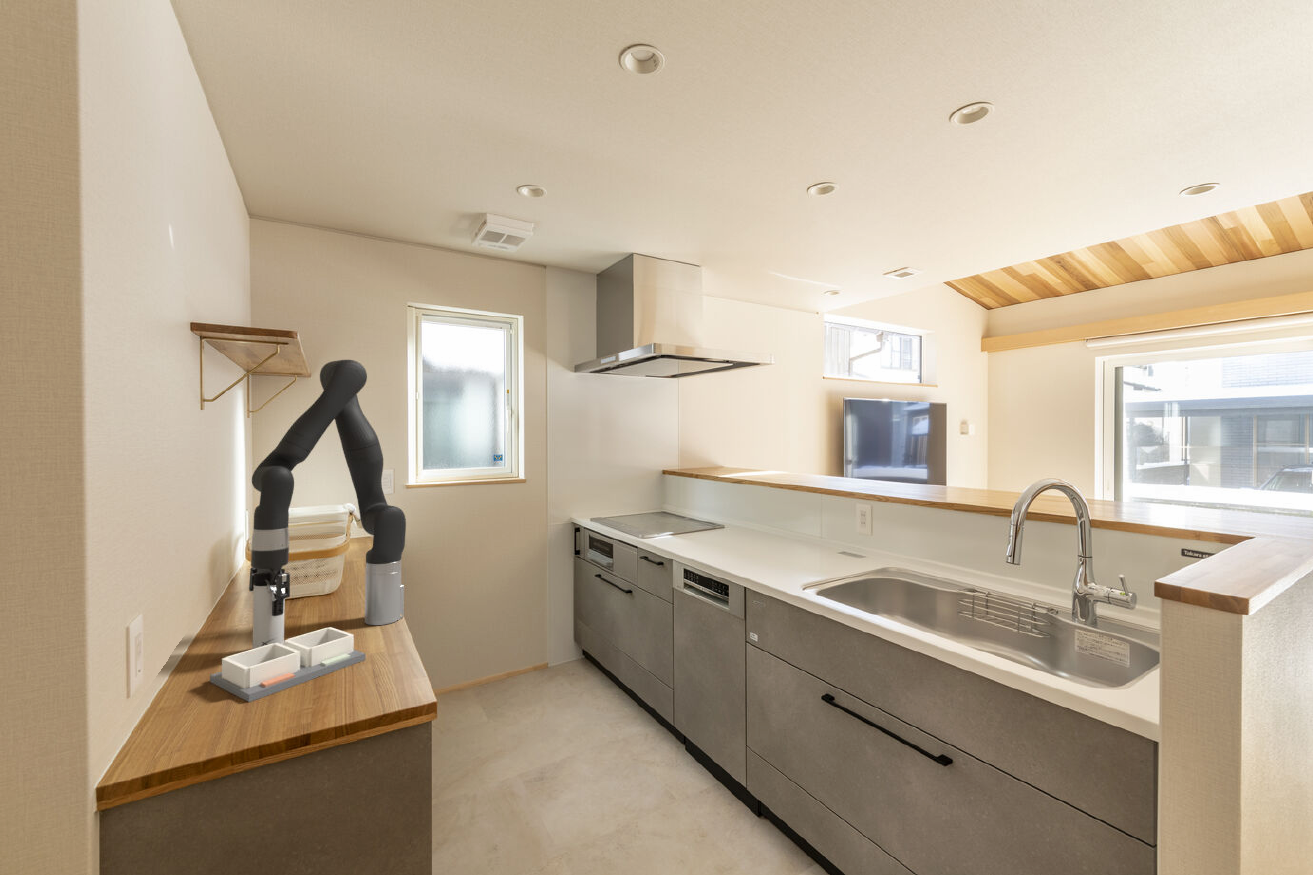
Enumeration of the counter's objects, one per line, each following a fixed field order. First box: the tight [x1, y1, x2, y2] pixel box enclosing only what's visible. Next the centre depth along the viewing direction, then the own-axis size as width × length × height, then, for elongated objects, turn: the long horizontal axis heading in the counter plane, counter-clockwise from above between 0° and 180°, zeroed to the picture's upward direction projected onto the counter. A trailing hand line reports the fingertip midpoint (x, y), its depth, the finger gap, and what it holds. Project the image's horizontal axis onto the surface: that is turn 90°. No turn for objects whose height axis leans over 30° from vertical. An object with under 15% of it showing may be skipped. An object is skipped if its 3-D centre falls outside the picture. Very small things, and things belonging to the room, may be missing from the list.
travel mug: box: [252, 568, 286, 649], centre depth 132 cm, size 6×7×20 cm
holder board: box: [209, 626, 366, 703], centre depth 122 cm, size 24×17×6 cm
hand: (268, 612), depth 132 cm, fingers open, 8 cm apart
